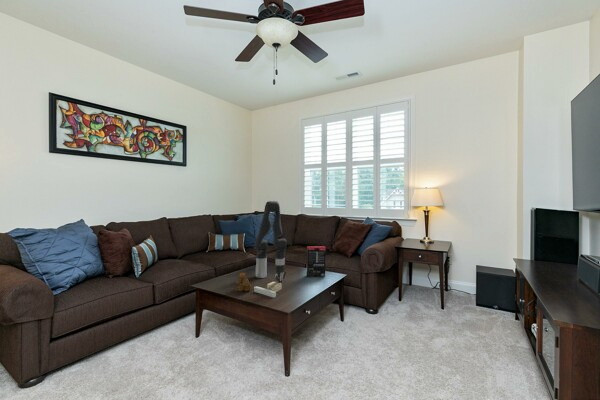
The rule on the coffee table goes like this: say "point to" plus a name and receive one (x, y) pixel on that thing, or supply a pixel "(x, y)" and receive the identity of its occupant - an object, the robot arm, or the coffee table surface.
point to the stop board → (265, 291)
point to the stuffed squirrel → (243, 283)
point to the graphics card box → (316, 261)
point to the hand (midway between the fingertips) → (280, 285)
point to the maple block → (274, 286)
